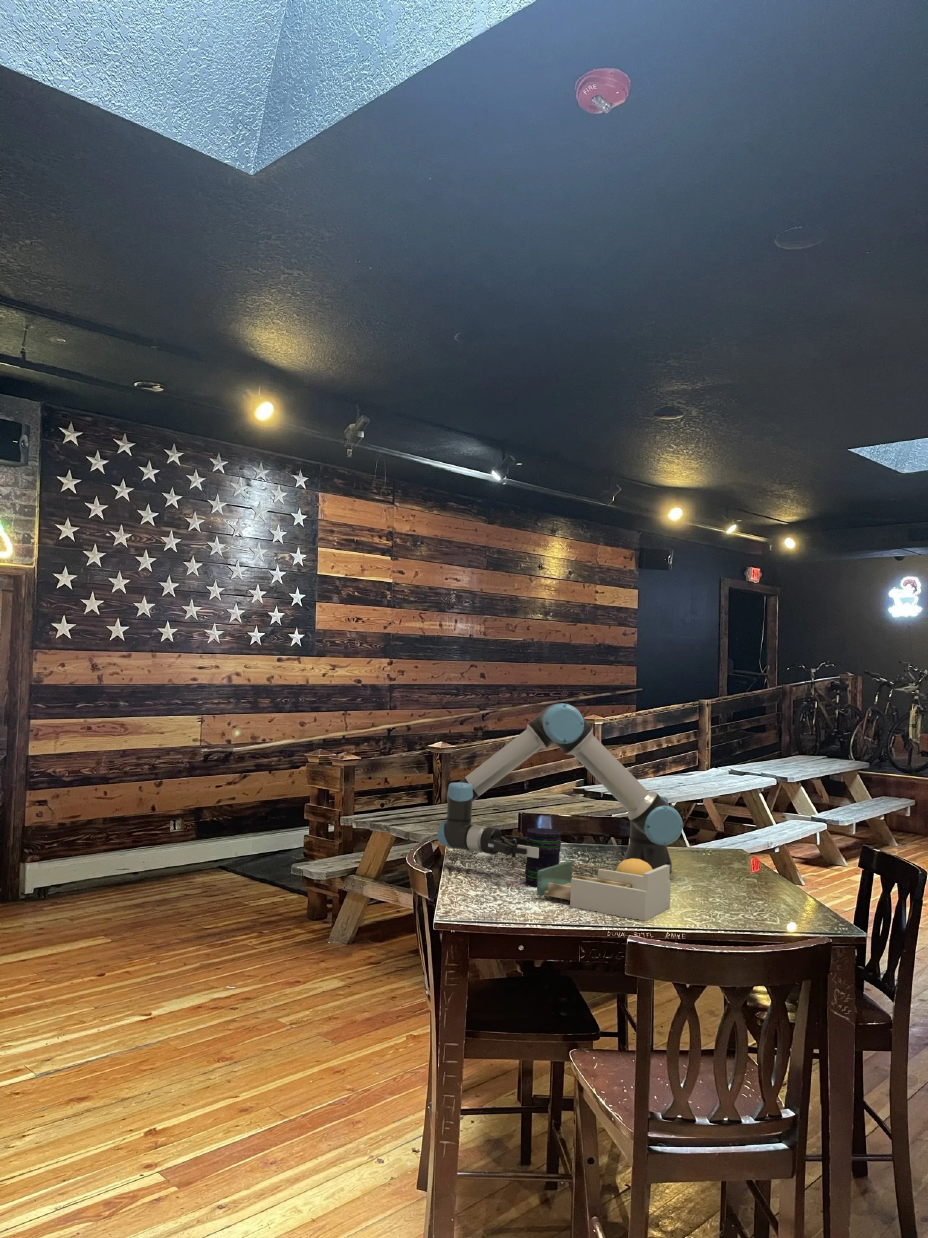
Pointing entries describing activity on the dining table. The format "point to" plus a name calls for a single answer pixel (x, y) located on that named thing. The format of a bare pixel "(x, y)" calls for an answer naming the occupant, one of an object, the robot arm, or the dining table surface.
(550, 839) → the storage jar
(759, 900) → the dining table surface
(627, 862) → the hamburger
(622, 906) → the dock
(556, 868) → the tray
